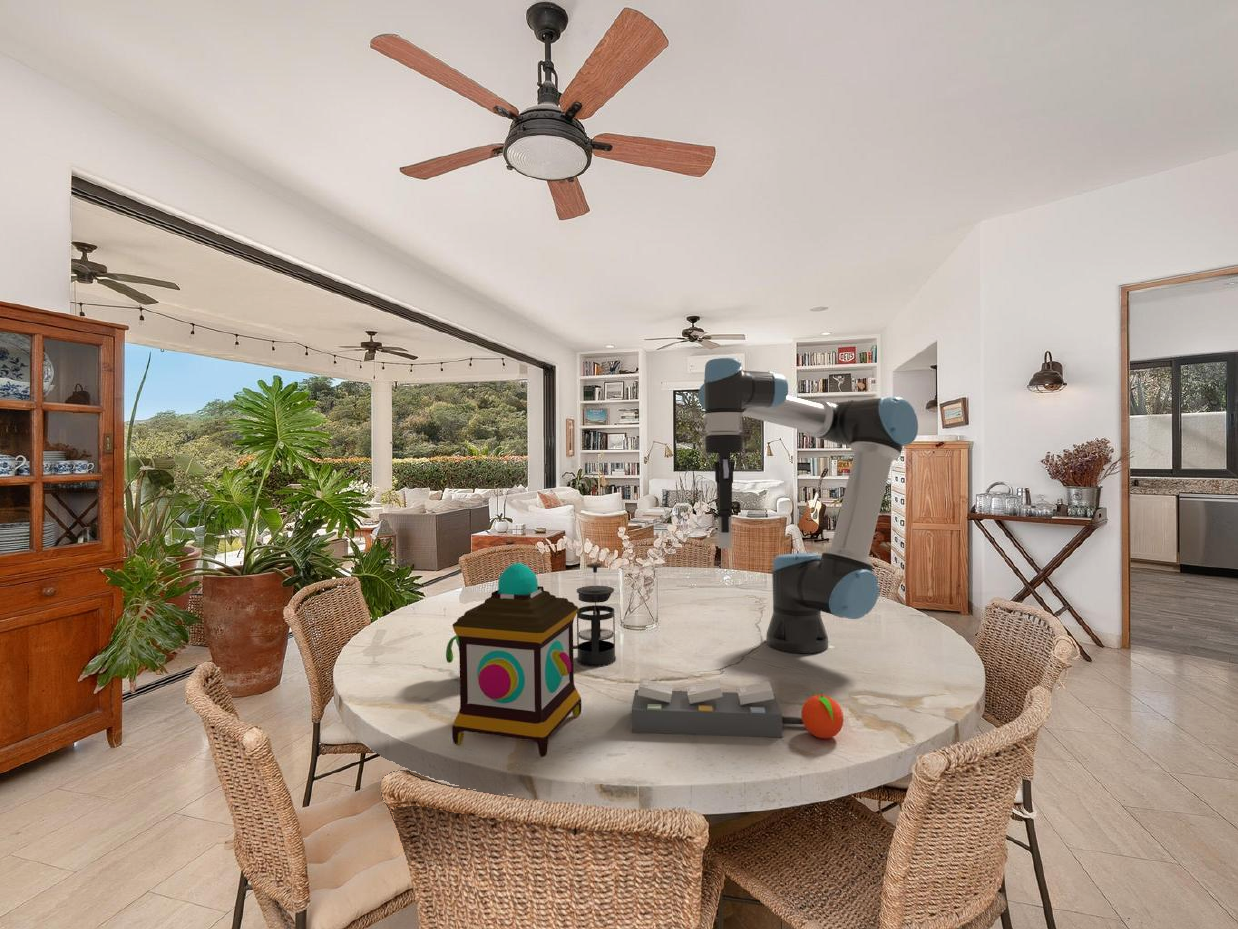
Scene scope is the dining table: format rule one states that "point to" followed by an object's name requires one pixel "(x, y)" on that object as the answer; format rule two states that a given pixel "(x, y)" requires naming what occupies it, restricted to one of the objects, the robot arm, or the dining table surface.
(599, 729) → the dining table surface
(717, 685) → the plate
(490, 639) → the decorative lantern
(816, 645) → the robot arm
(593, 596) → the french press
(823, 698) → the clementine
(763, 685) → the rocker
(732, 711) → the power strip
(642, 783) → the dining table surface
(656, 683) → the rocker
